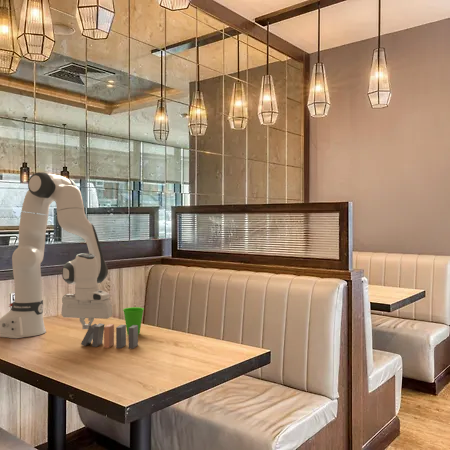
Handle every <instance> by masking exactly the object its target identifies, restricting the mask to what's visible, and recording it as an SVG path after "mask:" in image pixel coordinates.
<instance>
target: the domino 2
mask: <svg viewBox="0 0 450 450" xmlns="http://www.w3.org/2000/svg"><path fill="white" fill-rule="evenodd" d="M104 327H105V323H102V322H101V323H98V324H97V325H96V326H94V334H93V340H92V342H91V343H92V345H91V346H92V347H95V348H98V347H100V346H101V345H103V343H104Z"/></svg>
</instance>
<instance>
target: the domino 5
mask: <svg viewBox="0 0 450 450" xmlns="http://www.w3.org/2000/svg"><path fill="white" fill-rule="evenodd" d="M138 345H139V335H138V325H133V326H131V327H129V335H128V349H131V350H132V349H133V350H134V349H135V348H137V347H138Z"/></svg>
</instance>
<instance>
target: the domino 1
mask: <svg viewBox="0 0 450 450" xmlns="http://www.w3.org/2000/svg"><path fill="white" fill-rule="evenodd" d="M96 325H98V324H97V323H94V324H91V326H90V327H89V329H87V331H86V332H85V334H84V337H83V339H82V341H81V343H80V345H81V346H83V347H86V346H89V345H90V344H91V343H92V342H93V334H94V326H96Z"/></svg>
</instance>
